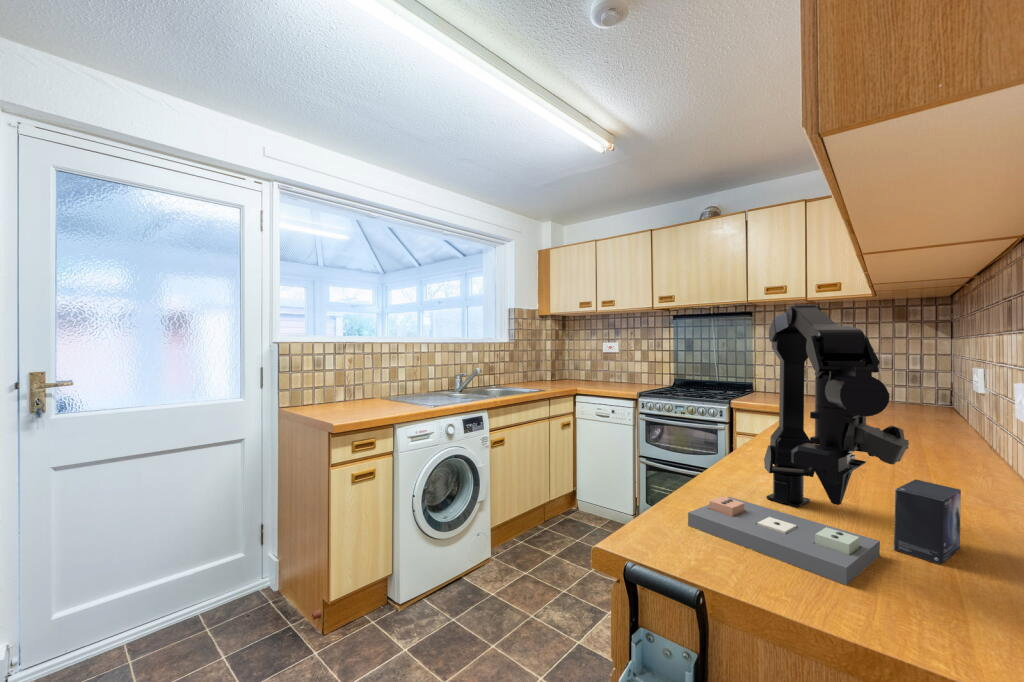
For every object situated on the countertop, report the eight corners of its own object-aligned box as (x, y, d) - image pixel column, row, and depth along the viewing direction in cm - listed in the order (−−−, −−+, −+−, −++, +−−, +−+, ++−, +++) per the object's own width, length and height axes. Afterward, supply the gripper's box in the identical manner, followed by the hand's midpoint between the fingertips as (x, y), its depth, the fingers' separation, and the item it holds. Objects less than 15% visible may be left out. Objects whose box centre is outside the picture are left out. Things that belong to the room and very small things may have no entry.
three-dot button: (721, 508, 88) (721, 495, 88) (744, 515, 84) (744, 502, 84) (709, 513, 85) (709, 500, 85) (732, 521, 82) (732, 507, 82)
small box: (945, 567, 68) (945, 500, 68) (892, 550, 74) (892, 488, 74) (963, 550, 74) (963, 488, 74) (912, 535, 79) (912, 478, 80)
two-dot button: (826, 542, 73) (826, 526, 73) (859, 552, 70) (859, 536, 70) (815, 549, 71) (815, 533, 71) (848, 560, 67) (848, 543, 67)
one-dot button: (769, 530, 81) (769, 516, 81) (796, 539, 77) (796, 524, 77) (757, 536, 78) (757, 521, 78) (784, 546, 74) (784, 530, 74)
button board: (729, 508, 92) (729, 496, 92) (879, 556, 72) (879, 540, 72) (688, 525, 83) (688, 512, 83) (846, 585, 63) (846, 567, 63)
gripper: (881, 419, 58) (881, 537, 58) (919, 408, 69) (919, 507, 69) (789, 409, 67) (789, 510, 67) (836, 400, 78) (835, 487, 78)
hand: (836, 503), depth 70 cm, fingers closed
